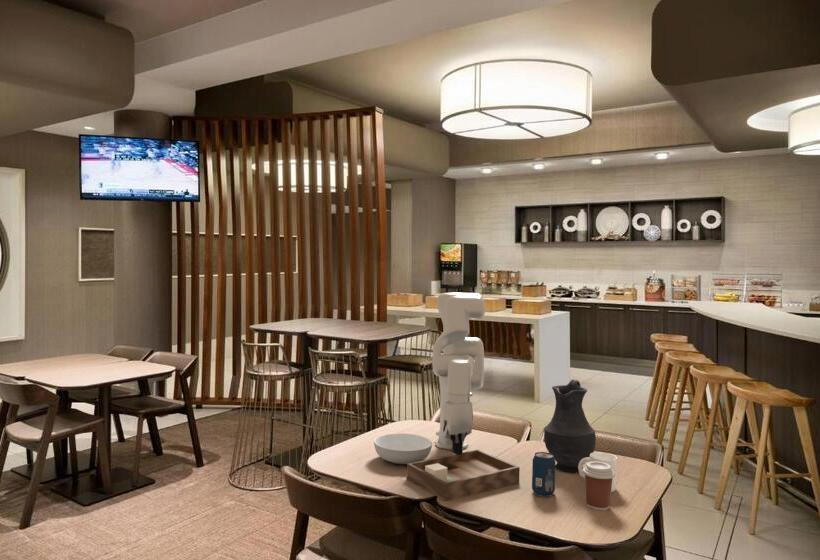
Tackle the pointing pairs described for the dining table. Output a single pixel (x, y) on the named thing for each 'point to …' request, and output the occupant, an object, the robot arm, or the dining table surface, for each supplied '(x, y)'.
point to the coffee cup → (598, 484)
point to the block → (437, 471)
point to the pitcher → (569, 429)
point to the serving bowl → (402, 447)
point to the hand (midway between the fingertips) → (457, 453)
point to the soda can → (543, 474)
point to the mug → (603, 458)
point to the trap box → (464, 474)
